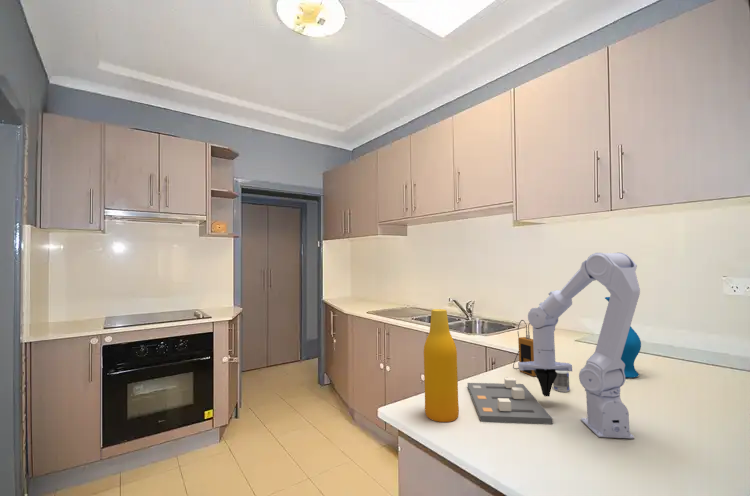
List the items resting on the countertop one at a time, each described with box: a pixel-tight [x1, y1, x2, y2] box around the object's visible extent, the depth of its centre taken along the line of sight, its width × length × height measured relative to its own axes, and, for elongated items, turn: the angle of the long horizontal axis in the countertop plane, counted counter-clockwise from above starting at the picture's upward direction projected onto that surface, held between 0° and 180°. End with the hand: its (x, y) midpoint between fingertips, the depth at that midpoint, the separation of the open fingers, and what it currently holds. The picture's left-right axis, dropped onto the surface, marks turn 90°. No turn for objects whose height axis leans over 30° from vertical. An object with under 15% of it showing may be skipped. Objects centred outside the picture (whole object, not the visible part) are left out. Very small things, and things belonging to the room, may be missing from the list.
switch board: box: [467, 382, 554, 425], centre depth 104 cm, size 26×18×2 cm
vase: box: [604, 296, 642, 379], centre depth 129 cm, size 12×13×28 cm
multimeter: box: [512, 319, 537, 377], centre depth 133 cm, size 15×10×20 cm
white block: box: [497, 398, 511, 411], centre depth 96 cm, size 2×3×2 cm
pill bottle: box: [552, 370, 570, 393], centre depth 115 cm, size 5×5×8 cm
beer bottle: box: [423, 308, 460, 423], centre depth 97 cm, size 9×9×29 cm
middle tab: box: [512, 387, 525, 399], centre depth 104 cm, size 2×3×2 cm
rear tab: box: [503, 377, 517, 388], centre depth 113 cm, size 2×3×2 cm
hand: (545, 395), depth 103 cm, fingers closed
